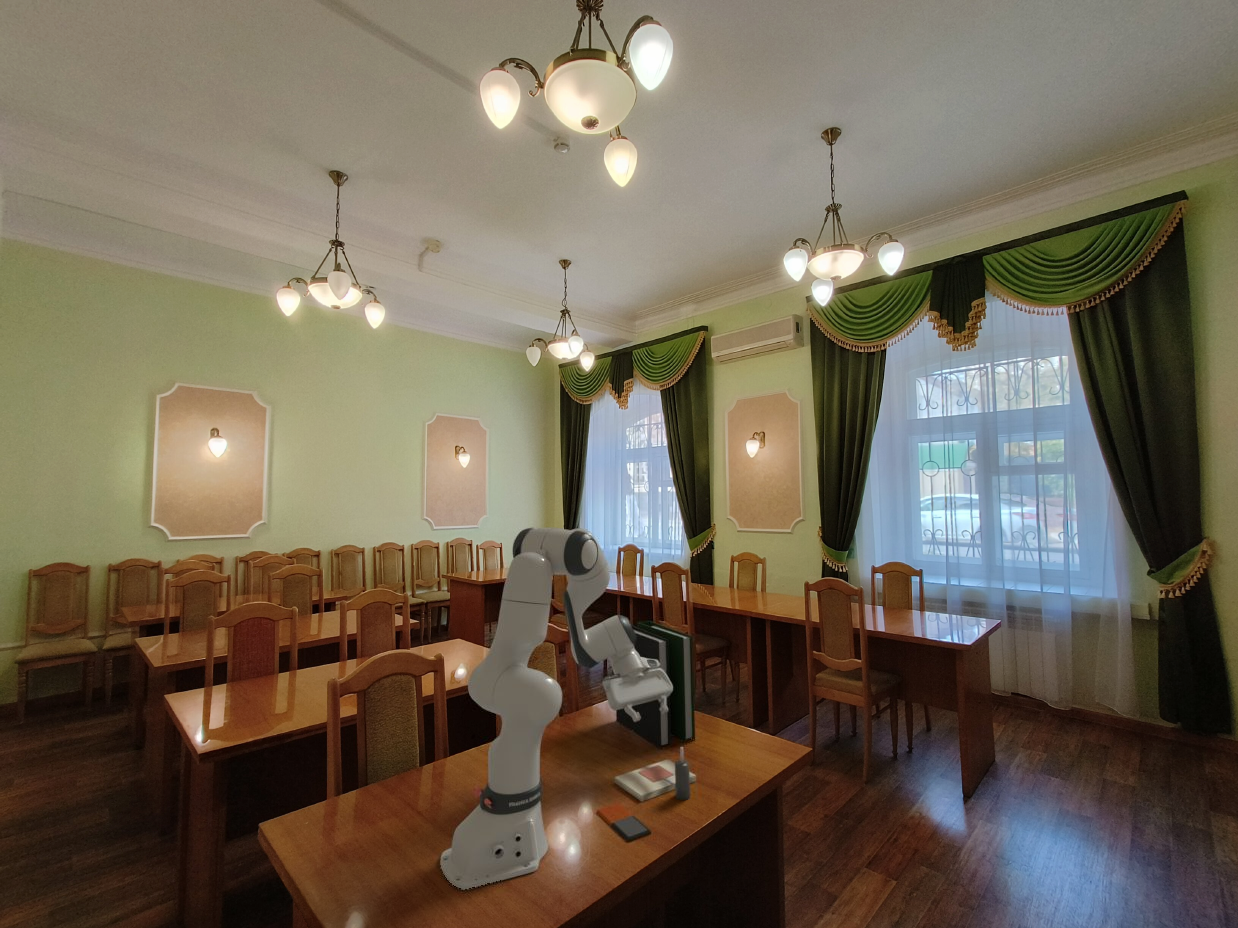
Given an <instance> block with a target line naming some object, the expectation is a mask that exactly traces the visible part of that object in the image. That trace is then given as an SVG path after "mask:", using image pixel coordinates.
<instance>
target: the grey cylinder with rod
mask: <svg viewBox="0 0 1238 928" xmlns="http://www.w3.org/2000/svg"><path fill="white" fill-rule="evenodd" d="M679 752H680V753H679V754H680V756H679V758H680V759H679V760H677V761H675V762H674V763H675V787H676V789H675V798H676V799H677V800H680V801H687V800H689V799H690V798H691V786H690V785H691V783H690V776H689V772H690V763H689V762H688V761H687V760H685V759H684V747H683V746H680V748H679Z"/></svg>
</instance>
